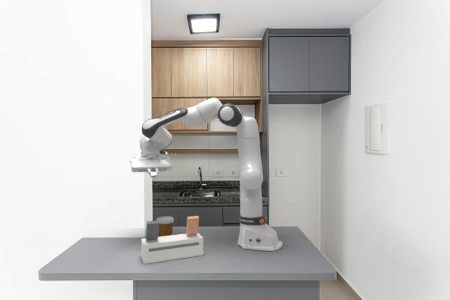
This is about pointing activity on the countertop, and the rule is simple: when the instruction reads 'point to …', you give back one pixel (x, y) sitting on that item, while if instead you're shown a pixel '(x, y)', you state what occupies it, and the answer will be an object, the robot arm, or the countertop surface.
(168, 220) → the disposable coffee cup
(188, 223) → the rocker terracotta
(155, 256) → the switch box
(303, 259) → the countertop surface
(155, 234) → the rocker charcoal
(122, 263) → the countertop surface
